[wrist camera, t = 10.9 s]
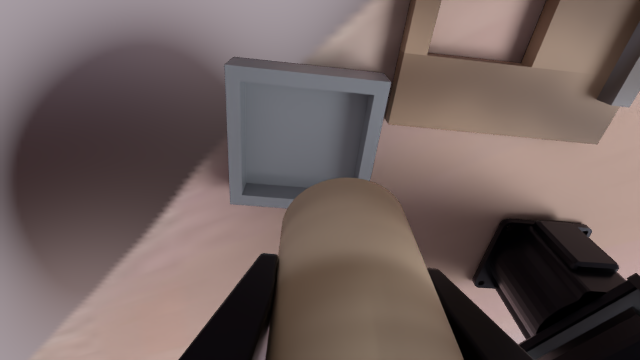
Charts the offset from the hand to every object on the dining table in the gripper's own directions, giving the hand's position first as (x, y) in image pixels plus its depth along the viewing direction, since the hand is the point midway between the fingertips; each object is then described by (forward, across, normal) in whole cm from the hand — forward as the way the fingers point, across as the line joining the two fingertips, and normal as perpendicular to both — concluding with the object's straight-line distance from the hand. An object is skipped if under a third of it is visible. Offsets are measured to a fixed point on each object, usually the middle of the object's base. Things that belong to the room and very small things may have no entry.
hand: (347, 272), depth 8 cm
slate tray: (+12, +1, +2) cm, 12 cm away
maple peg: (+2, 0, 0) cm, 2 cm away
